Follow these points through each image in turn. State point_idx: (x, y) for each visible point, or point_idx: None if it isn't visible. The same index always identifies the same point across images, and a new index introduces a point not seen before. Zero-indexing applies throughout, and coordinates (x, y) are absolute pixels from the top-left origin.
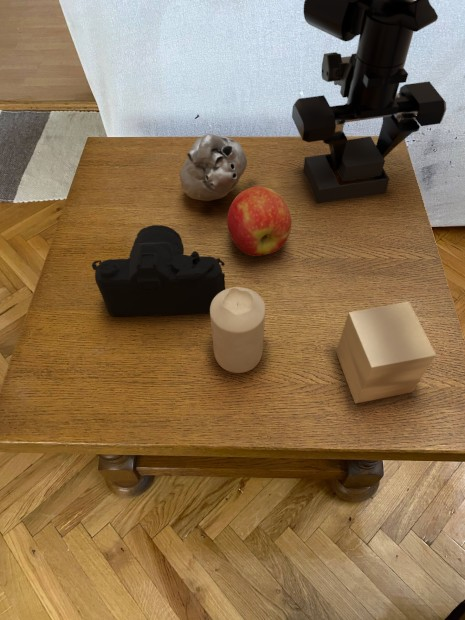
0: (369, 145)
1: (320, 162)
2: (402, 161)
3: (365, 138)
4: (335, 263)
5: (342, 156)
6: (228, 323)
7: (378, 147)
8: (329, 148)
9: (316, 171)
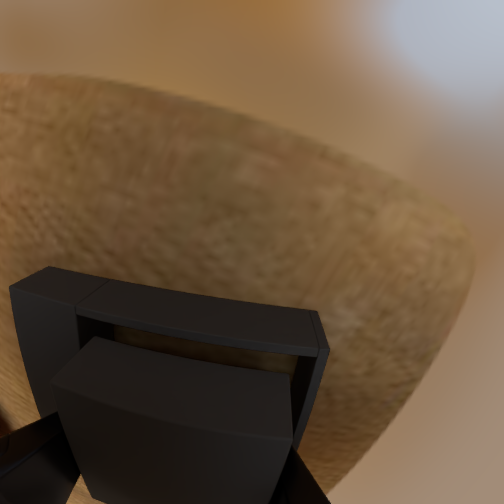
0: (240, 482)
1: (54, 342)
2: (434, 346)
3: (248, 444)
4: (95, 500)
5: (66, 499)
6: None
7: (275, 502)
8: (24, 427)
9: (38, 376)
